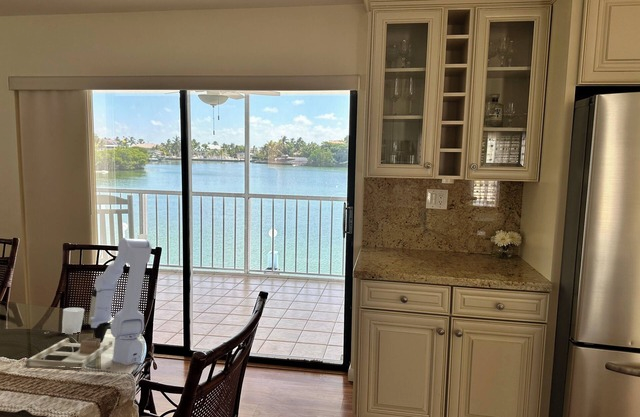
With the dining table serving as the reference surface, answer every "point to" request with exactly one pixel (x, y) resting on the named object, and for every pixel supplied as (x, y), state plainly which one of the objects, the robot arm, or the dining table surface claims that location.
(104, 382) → the dining table surface
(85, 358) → the white compartment tray
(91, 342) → the block
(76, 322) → the white cup
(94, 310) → the travel mug
